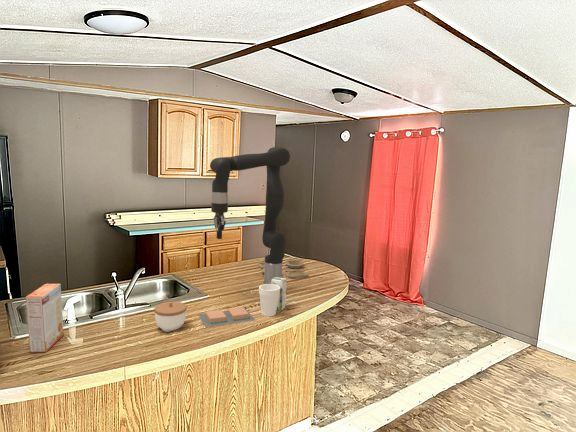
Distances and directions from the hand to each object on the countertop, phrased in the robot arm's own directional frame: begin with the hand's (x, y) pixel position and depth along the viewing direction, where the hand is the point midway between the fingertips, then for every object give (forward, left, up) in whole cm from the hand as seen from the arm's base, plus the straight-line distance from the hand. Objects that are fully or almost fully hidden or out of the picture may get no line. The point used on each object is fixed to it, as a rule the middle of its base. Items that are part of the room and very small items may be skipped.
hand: (219, 238), depth 190 cm
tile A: (-4, +15, -30) cm, 34 cm away
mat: (+1, +18, -32) cm, 37 cm away
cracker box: (+69, +19, -32) cm, 78 cm away
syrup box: (-25, +14, -32) cm, 43 cm away
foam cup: (-18, +20, -32) cm, 42 cm away
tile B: (+6, +15, -30) cm, 34 cm away
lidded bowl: (+25, +20, -32) cm, 45 cm away
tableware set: (-52, -43, -33) cm, 75 cm away
